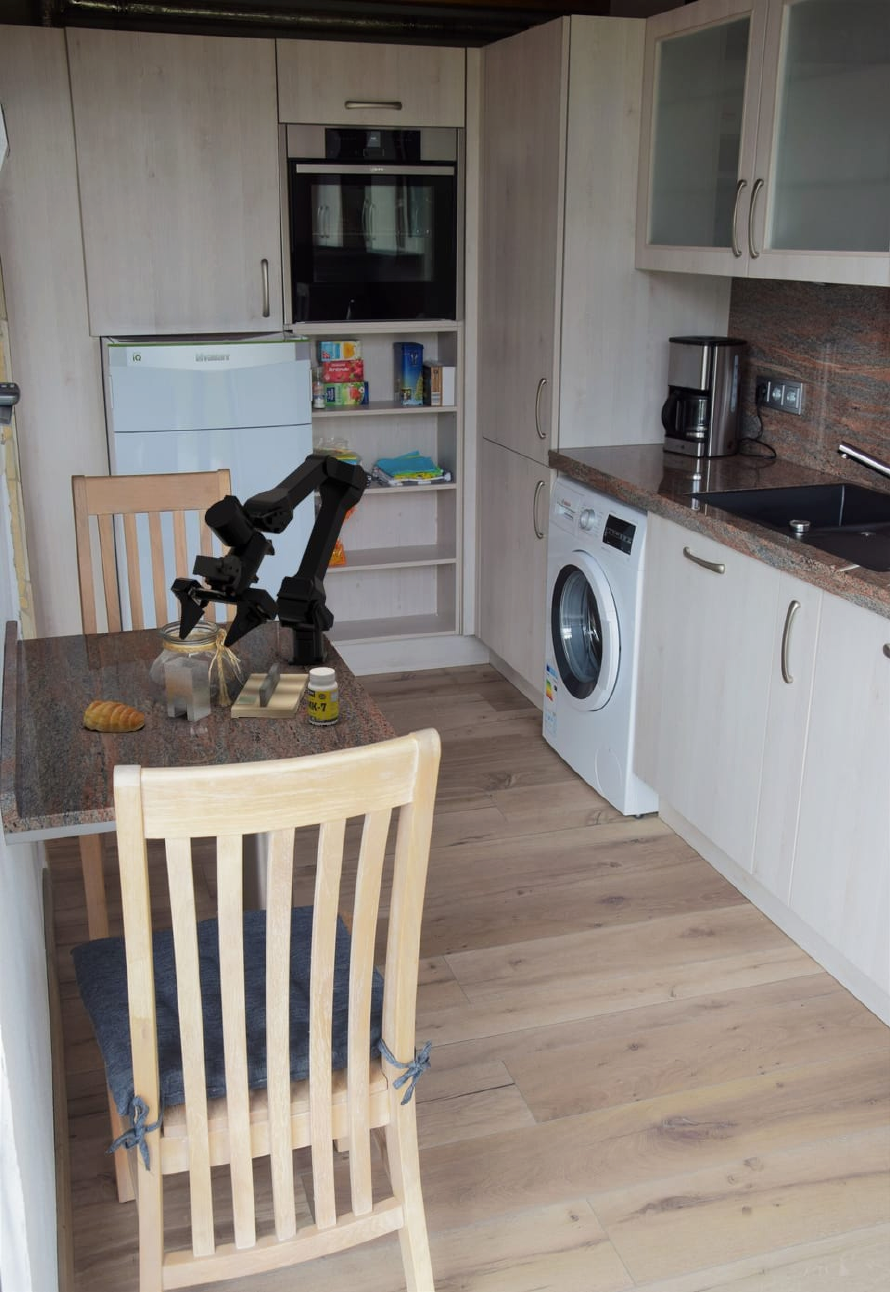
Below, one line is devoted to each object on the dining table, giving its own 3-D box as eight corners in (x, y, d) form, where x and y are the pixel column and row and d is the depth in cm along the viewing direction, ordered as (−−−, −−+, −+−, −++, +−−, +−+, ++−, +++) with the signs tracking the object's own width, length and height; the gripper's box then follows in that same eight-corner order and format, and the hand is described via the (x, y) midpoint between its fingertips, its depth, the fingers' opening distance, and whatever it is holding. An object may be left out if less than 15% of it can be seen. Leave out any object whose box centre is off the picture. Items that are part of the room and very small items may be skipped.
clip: (184, 708, 194) (180, 656, 192) (210, 714, 192) (207, 661, 189) (168, 716, 191) (164, 663, 188) (194, 722, 189) (191, 668, 186)
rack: (252, 681, 208) (250, 657, 206) (309, 682, 207) (308, 657, 206) (231, 717, 190) (229, 691, 189) (293, 718, 190) (292, 691, 189)
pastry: (154, 723, 189) (152, 700, 188) (132, 738, 183) (130, 714, 182) (103, 717, 192) (101, 694, 190) (79, 731, 185) (76, 708, 184)
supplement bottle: (302, 723, 188) (300, 673, 186) (319, 714, 192) (317, 664, 190) (328, 728, 186) (326, 677, 183) (344, 718, 190) (343, 669, 187)
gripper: (174, 529, 196) (132, 609, 190) (265, 540, 187) (224, 624, 181) (207, 566, 205) (168, 644, 199) (296, 579, 196) (258, 660, 190)
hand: (203, 642), depth 192 cm, fingers open, 9 cm apart
